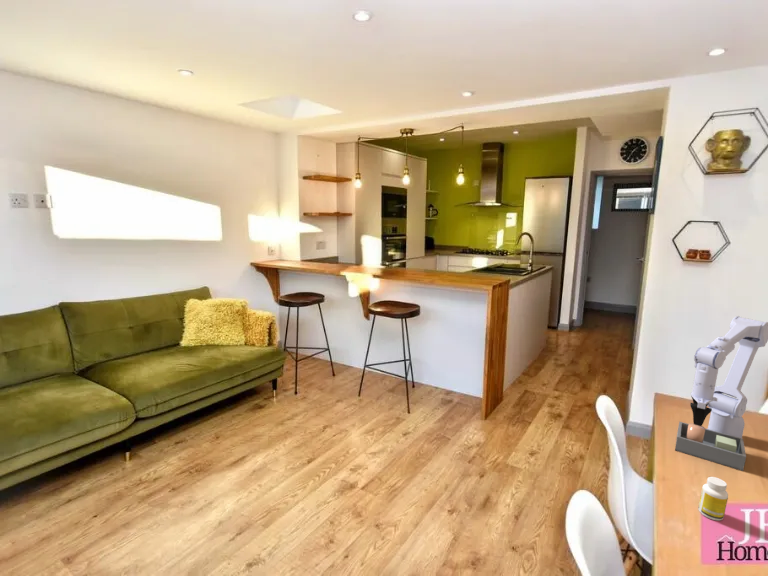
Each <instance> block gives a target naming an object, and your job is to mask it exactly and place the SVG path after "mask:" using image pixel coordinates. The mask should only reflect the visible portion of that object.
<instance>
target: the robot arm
mask: <svg viewBox="0 0 768 576" xmlns="http://www.w3.org/2000/svg"><path fill="white" fill-rule="evenodd" d="M737 343H738V344H739V346H738V349H737V351H736V353H735V355H734V358H733V361H732V363H731V365H730V368H729V370H728V373H727V375H726V377H725V380H724V382H723V384H721V385H717V379H718V374H719V370H720V368H722V366H723V364H724V362H726V360H727V356H728V355H730V353H732V352H733V351H734V350H735V347H736V346H735V345H736V344H737ZM767 344H768V321H761V320H757V319H751V318H746V317H742V316H739V315H735V316H734V317H733V318H732V319H731V321H730V323H729V330H728V331H727V332H726V333H725V334H724V336H718V337H716V338H714V340H712V341H711V342H710V343H709V344H708V345H706V346H702V347H699V348H697V350H696V351H695V353H694V356H693V360H694V368H695V374H694V378H693V382H692V383H693V384H692V388H691V389H692V391H691V392H690V396H691V400H692V402H690V408H691V411H692V420H693V423H694V425H698V426H703V425H704V422H705V420H706V418H707V416H708V415H709V414H710V416H709V420H708V426H707V429H709V430H713V431H717V432H720V433H724V434H728V435H731V436H735V437H739V438H743V434H744V430H745V425H746V424H745V420H744V418H743V416H744V414H745V413H746V409H747V403H748V398H747V396H746V395H745V394H744V393H743V392H742V387H743V385H744V382H745V380H746V378H747V375H748V374H749V370H750V368H751V366H752V364H753V361H754V358H755V356H756V354H757V352H758V351H759V348H764V347H766V345H767Z"/></svg>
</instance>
